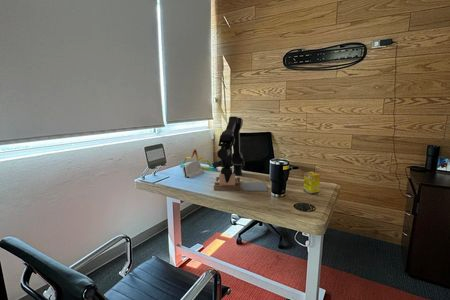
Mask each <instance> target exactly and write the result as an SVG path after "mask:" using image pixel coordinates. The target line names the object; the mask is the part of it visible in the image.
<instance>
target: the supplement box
mask: <svg viewBox="0 0 450 300" xmlns="http://www.w3.org/2000/svg"><path fill="white" fill-rule="evenodd" d="M303 175H304V176H303V192H305V193H307V194H309V195H315V194H319V193H320V182H321V174H320V173H317V172H315V171H307V172H304V174H303Z"/></svg>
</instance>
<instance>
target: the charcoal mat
mask: <svg viewBox="0 0 450 300" xmlns="http://www.w3.org/2000/svg"><path fill="white" fill-rule="evenodd" d="M241 186H242V191H243V192H268V191H269V190H268V188H267V184H266V182H262V181H261V182H259V181H258V182H257V181H256V182H254V181H252V182H249V181H248V182H247V181H245V182H244V181H242V185H241Z"/></svg>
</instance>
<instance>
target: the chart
mask: <svg viewBox="0 0 450 300" xmlns="http://www.w3.org/2000/svg"><path fill="white" fill-rule="evenodd" d="M194 156H195V158H196V162H199V161H202V163H205V162H206V163H207V165H208V166H209V167H207V166H201V168H202V169H203V170H204V171H206V172H207V171H208V172H218V168H219V167H217V168H215V169H214V167H213V165H212V163H211V162H210V160H209V159H207V160H205V159H204V158H203V157H199V156H198V152H197V149H193V151H192V155H191V157H190V156H186V157H184V160H183V161H179V163H180V164H181V165H179V167H180V168H183V166H184V165H185V163H186V161H187V159H191V158H194Z"/></svg>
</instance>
